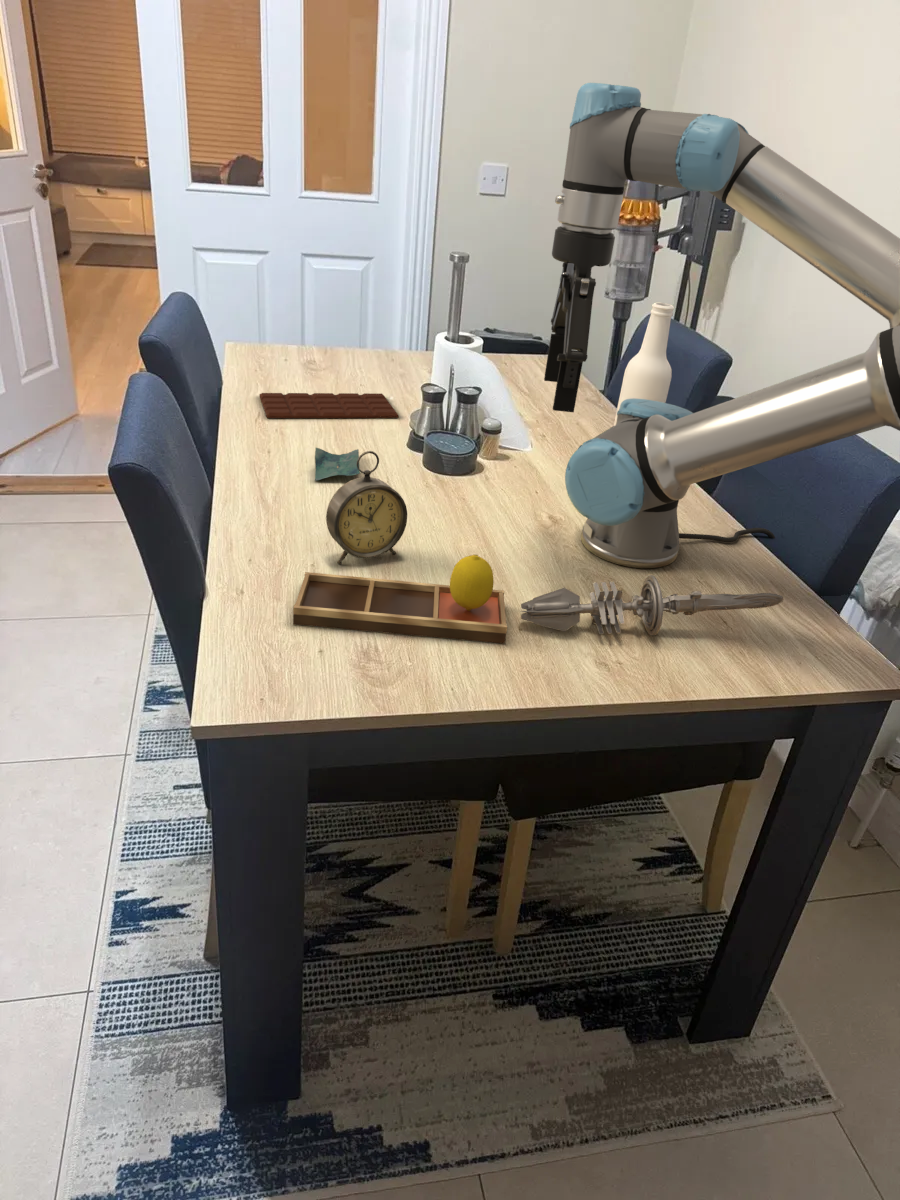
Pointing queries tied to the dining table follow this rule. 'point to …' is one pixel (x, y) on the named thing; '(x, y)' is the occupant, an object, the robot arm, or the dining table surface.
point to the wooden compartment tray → (396, 608)
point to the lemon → (471, 582)
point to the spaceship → (632, 606)
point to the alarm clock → (366, 516)
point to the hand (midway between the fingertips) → (558, 395)
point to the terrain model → (335, 464)
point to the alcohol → (650, 361)
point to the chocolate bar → (327, 405)
